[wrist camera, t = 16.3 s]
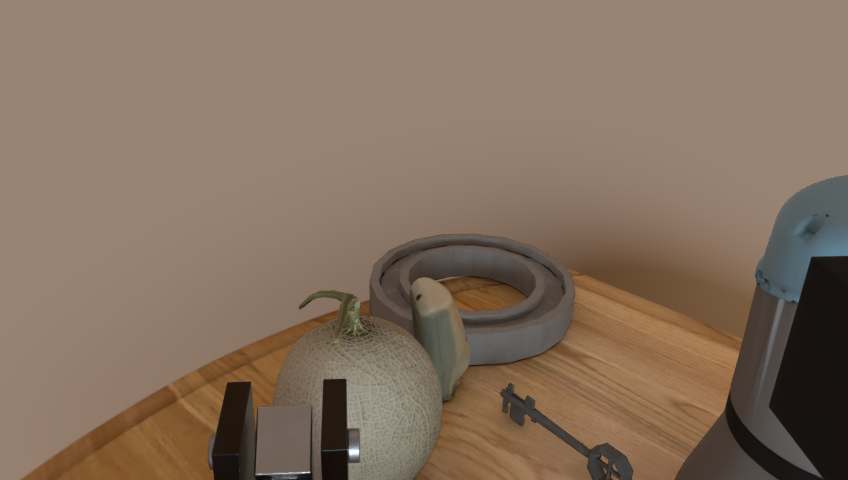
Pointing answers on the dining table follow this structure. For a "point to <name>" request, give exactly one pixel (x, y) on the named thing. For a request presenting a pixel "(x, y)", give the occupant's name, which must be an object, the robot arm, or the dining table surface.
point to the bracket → (238, 436)
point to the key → (569, 438)
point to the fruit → (368, 389)
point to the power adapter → (440, 332)
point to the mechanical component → (488, 258)
